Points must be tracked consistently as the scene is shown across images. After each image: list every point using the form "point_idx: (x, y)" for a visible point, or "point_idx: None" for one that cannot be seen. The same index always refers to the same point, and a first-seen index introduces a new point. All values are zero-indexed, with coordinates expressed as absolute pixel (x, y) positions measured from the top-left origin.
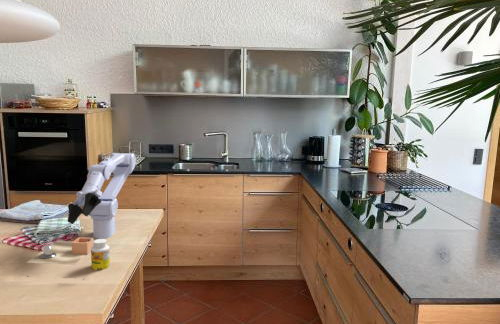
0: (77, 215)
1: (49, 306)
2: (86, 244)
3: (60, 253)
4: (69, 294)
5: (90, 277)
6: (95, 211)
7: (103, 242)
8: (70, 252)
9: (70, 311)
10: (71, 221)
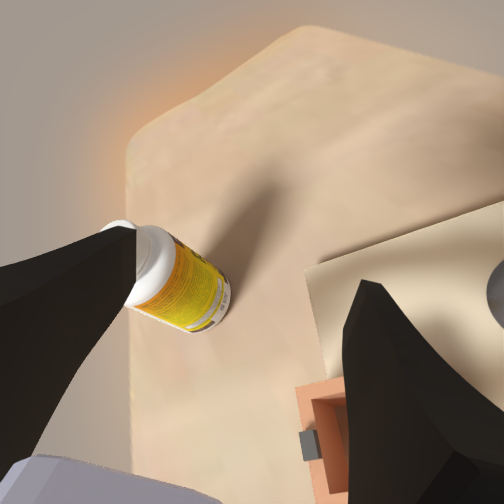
0: (356, 437)
1: (231, 92)
2: (303, 388)
3: (497, 357)
4: (218, 146)
5: (213, 244)
6: None
7: None
8: None
9: (178, 107)
10: (351, 311)
